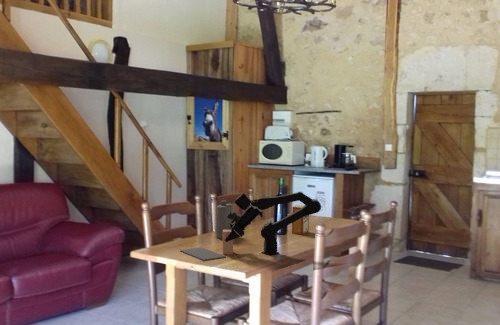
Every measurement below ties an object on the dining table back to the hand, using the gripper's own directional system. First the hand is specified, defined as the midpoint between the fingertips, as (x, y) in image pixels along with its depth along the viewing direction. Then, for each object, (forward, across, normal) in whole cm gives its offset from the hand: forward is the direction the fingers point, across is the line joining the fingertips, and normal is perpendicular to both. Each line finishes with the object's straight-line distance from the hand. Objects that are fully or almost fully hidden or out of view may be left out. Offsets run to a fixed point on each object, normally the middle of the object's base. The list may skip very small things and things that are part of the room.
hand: (225, 239), depth 259 cm
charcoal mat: (+12, +3, -3) cm, 13 cm away
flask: (+5, -39, +5) cm, 40 cm away
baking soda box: (-27, -50, +37) cm, 68 cm away
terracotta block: (+4, 0, +6) cm, 7 cm away
